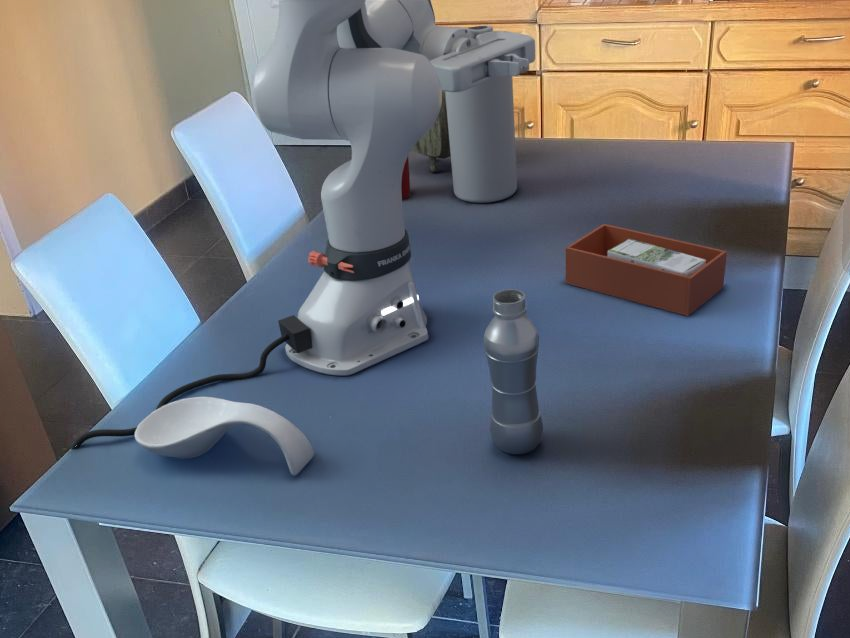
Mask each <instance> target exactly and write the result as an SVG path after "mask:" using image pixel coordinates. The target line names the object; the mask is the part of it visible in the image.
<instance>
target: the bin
mask: <svg viewBox="0 0 850 638" xmlns="http://www.w3.org/2000/svg"><path fill="white" fill-rule="evenodd" d="M627 239H633V240H637V241H640V242H644V243H647V244H651V245H655V246H658V247H662V248H665V249H669V250H673V251H676V252H680V253H684V254H687V255H691V256H694V257H698V258H701V259H705V260H706V265H704V266H703V267H702V268H700V269H699V270H698V271H696V272H695V273H694V274H692V275H691V276H690V277H689V276H685V275H681V274H677V273H672V272H668V271H664V270H660V269H656V268H652V267H648V266H644V265H640V264H636V263H632V262H627V261H623V260H619V259H615V258H611V257H607V252H608V250H610V249H612V248H613V247H615V246H617V245H619V244H620V243H622V242H624V241H626V240H627ZM564 250H565V252H564V253H565V284H567V285H571V286H575V287H579V288H582V289H586V290H590V291H593V292H597V293H601V294H604V295H608V296H611V297H616V298H619V299H622V300H627V301H630V302H634V303H638V304H641V305H645V306H649V307H653V308H657V309H660V310H663V311H667V312H671V313H675V314H679V315H682V316H686V317H689V316H690V315H691V314H693V313H694V312H695V311H696V310H698V309H699V308H700V307H701V306H703V305H704V304H705V303H706V302H708V301H709V300H710V299H712V297H714V296H715V295H716V294H717V293H719V292H720V291H721V290H723V289H724V286H725V285H724V284H725V275H726V264H727V254H728V251H727V250H724V249H719V248H715V247H710V246H705V245H701V244H697V243H692V242H688V241H683V240H679V239H674V238H670V237H665V236H661V235H656V234H652V233H647V232H642V231H638V230H633V229H630V228H625V227H621V226H615V225H612V224H606V223H603V224H601V225H599V226H597V227H596V228H595V229H593V230H592V231H590V232H589V233H587V234H586V235H584V236H582V237H581V238H578V239H577V240H576V241H574V242H572V243H570V244H569V245H567V246H566V247H565V249H564Z"/></svg>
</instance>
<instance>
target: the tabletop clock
mask: <svg viewBox="0 0 850 638" xmlns="http://www.w3.org/2000/svg"><path fill="white" fill-rule="evenodd" d="M410 152H414V153H417V154H420V155H423V156H426V157H428V159H429V161H431V162H432V164H430V166H429V171H430V172H431V173H433V174H435V173H437V171H438V166H437V165H436V162H437V159H441V160H444V159H448V158H451V153H450V141H449V130H448V118H447V107H446V95H445V91H443V90H442V103H441V108H440V112H439V115H438V117H437V119H436V121H435V123H434V125H433V126H432V128H431V129H430V130H429V131H428V132H427V133H426V134H425V135H424V136H422V137H421V138H420V139H419V141H418V142H417V143H416V144H415V145H414V147H413V148H412V150H411V151H410Z"/></svg>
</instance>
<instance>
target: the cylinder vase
mask: <svg viewBox="0 0 850 638" xmlns="http://www.w3.org/2000/svg"><path fill="white" fill-rule="evenodd" d="M445 95H446V107H447V118H448V130H449V141H450V153H451V157H450V163H451V176H452V185H453V193H454V195H455V196H456V198H457V199H459V200H462V201H464V202H468V203H475V204H488V203H495V202H498V201H503V200H505V199H508V198H509V197H512V195H514V193H516V191H517V190H518V177H517V176H518V175H517V173H518V172H517V153H516V151H517V150H516V149H517V148H516V128H515V107H514V104H515V103H514V84H513V76H512V75H506V76H498V77H496V78H493V79H491V80H488V81H486V82H484V83H481V84H479V85H476V86H474V87H471V88H469V89H467V90H464V91H462V92H448V91H445Z"/></svg>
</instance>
